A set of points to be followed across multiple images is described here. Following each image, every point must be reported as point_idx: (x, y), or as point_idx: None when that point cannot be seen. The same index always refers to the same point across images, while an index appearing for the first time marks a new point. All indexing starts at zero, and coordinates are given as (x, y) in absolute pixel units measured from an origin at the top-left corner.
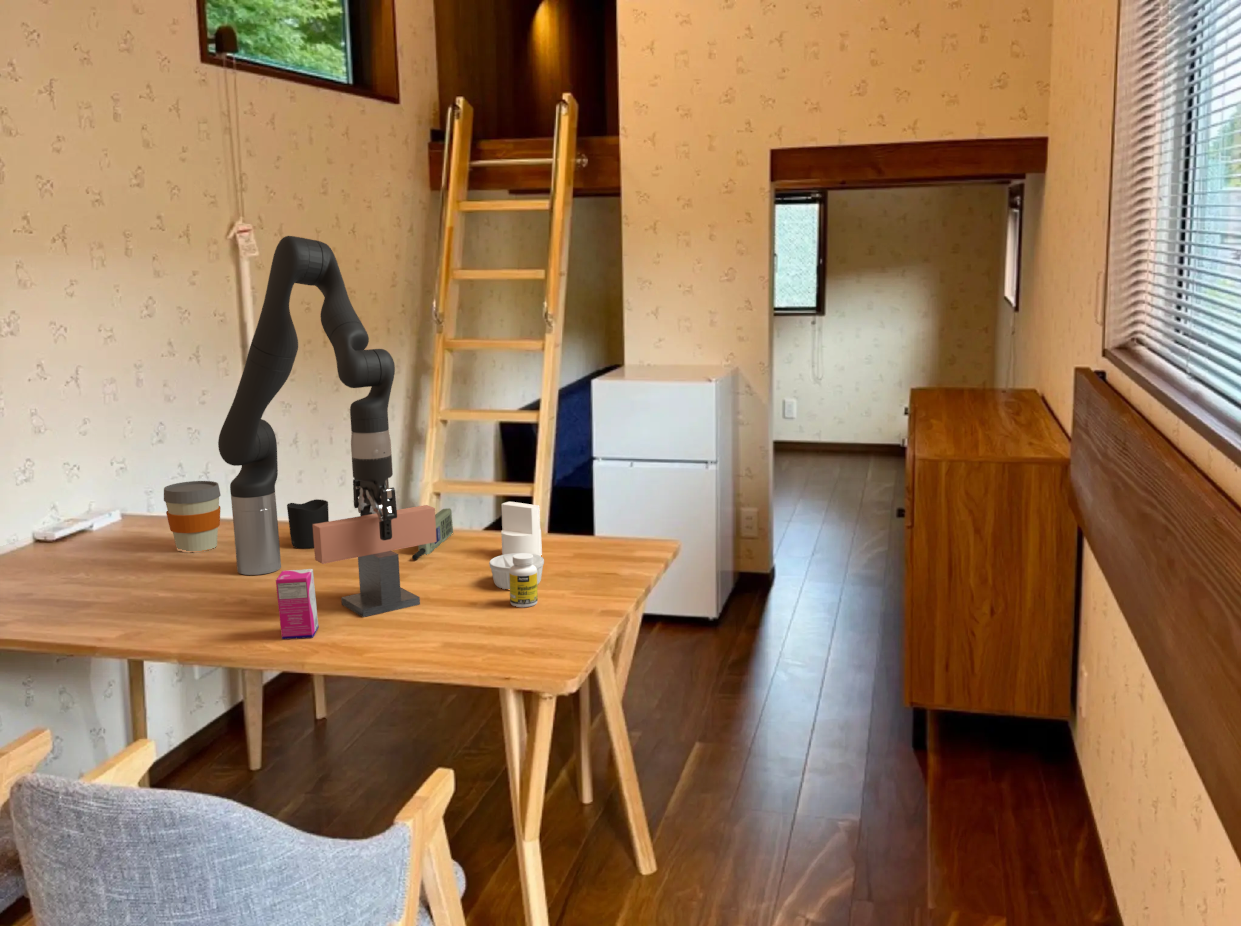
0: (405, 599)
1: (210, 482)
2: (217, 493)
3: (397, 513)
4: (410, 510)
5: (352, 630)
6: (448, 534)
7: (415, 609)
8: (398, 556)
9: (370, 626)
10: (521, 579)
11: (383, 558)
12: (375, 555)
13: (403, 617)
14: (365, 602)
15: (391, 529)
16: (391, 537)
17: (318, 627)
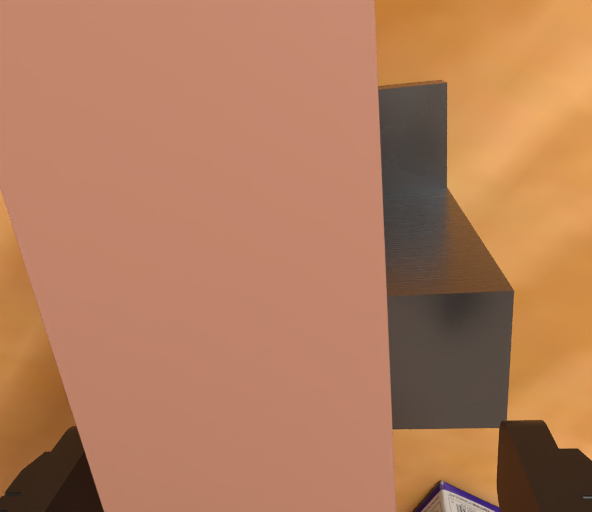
0: (437, 159)
1: None
2: None
3: (325, 417)
4: (226, 119)
5: (552, 414)
6: None
7: (495, 128)
8: (508, 282)
9: (561, 354)
10: None
11: (505, 394)
12: (428, 424)
13: (559, 215)
14: None
15: (576, 490)
16: (544, 427)
17: (446, 483)
